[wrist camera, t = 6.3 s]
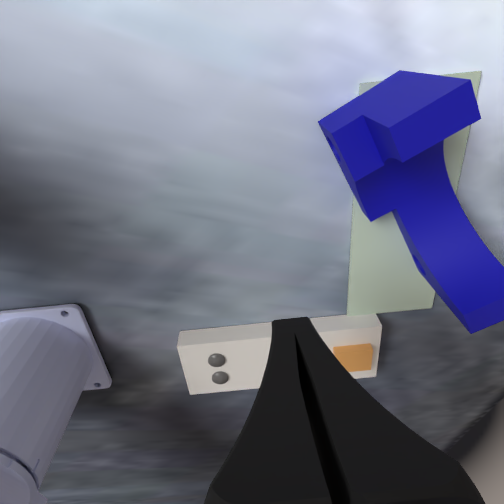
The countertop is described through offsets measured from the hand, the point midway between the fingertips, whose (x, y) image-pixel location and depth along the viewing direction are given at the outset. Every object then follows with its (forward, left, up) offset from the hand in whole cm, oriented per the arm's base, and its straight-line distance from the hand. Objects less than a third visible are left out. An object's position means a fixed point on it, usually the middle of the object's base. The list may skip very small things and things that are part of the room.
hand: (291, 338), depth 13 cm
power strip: (0, -10, -10) cm, 14 cm away
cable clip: (+8, +2, -10) cm, 12 cm away
